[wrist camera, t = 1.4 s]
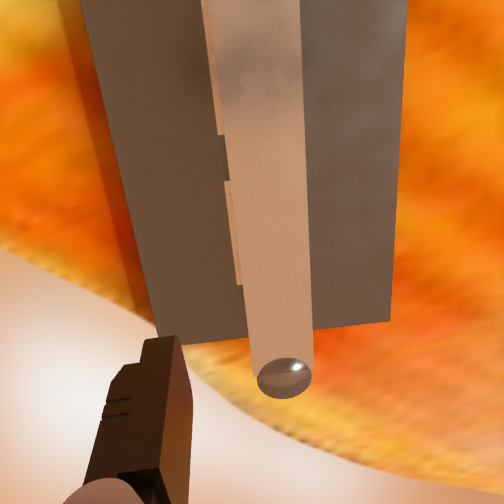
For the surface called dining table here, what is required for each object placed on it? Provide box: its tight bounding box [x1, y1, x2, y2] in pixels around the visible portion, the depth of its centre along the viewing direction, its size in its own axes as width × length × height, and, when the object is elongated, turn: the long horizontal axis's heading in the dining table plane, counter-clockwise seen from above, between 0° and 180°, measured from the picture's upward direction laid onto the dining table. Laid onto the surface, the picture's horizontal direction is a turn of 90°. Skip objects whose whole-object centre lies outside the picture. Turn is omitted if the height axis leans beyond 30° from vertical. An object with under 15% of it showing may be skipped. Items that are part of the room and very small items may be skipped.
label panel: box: [80, 0, 408, 345], centre depth 31 cm, size 28×18×2 cm, turn 5°
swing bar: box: [208, 0, 314, 399], centre depth 29 cm, size 28×4×6 cm, turn 5°
